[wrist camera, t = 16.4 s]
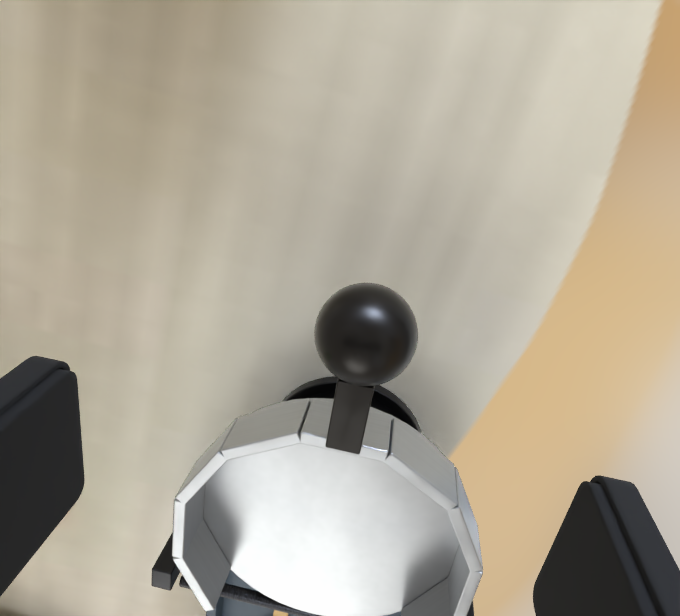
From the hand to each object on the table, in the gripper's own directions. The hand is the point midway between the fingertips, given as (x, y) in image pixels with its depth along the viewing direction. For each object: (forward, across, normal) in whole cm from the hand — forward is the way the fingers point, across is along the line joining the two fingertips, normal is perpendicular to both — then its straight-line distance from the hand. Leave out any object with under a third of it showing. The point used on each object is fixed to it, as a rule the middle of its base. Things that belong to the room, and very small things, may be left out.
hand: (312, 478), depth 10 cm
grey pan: (+10, 0, +8) cm, 13 cm away
